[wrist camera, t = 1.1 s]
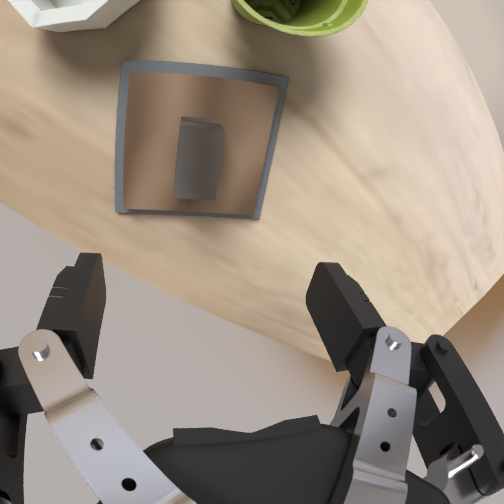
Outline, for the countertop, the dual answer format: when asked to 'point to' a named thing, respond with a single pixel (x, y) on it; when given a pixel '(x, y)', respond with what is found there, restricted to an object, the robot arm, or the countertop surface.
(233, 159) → the lid
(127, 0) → the bowl
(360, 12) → the plant pot
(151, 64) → the mat
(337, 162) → the countertop surface
